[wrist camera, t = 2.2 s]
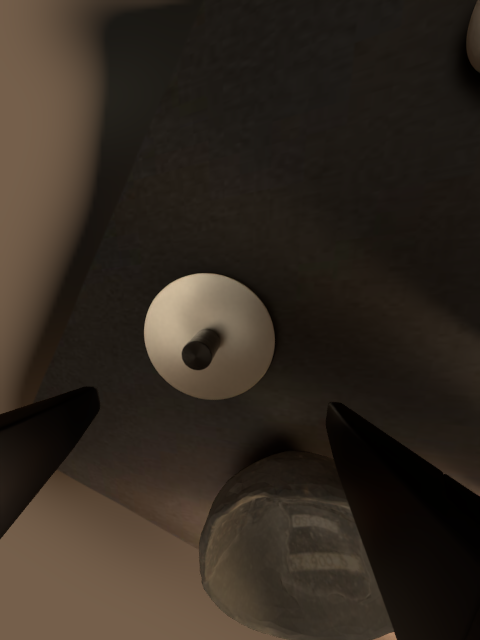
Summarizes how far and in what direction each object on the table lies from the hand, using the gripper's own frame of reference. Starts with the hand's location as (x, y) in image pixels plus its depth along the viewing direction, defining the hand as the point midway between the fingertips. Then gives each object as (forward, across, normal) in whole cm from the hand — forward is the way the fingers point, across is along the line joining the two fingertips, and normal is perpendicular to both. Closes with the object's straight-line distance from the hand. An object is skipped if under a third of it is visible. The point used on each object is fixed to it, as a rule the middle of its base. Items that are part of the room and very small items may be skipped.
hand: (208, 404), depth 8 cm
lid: (+12, +3, +2) cm, 12 cm away
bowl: (+13, -6, +18) cm, 23 cm away
